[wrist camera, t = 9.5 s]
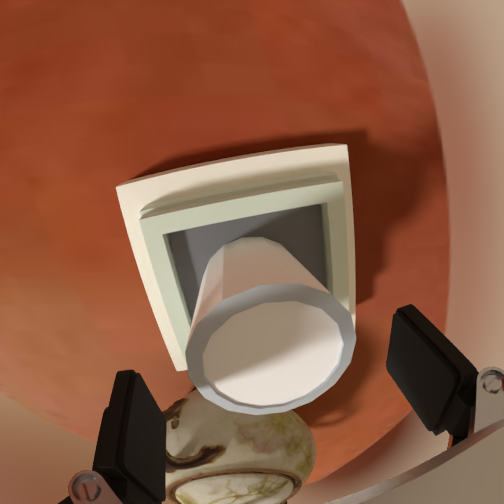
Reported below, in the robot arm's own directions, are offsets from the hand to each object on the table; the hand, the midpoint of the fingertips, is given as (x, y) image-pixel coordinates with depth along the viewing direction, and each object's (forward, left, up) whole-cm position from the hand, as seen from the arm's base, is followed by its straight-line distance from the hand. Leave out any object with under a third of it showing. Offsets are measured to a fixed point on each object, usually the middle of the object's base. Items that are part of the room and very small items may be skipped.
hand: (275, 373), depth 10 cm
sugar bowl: (+17, -5, -13) cm, 22 cm away
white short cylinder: (0, 0, -8) cm, 8 cm away
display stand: (+1, 0, -13) cm, 13 cm away
